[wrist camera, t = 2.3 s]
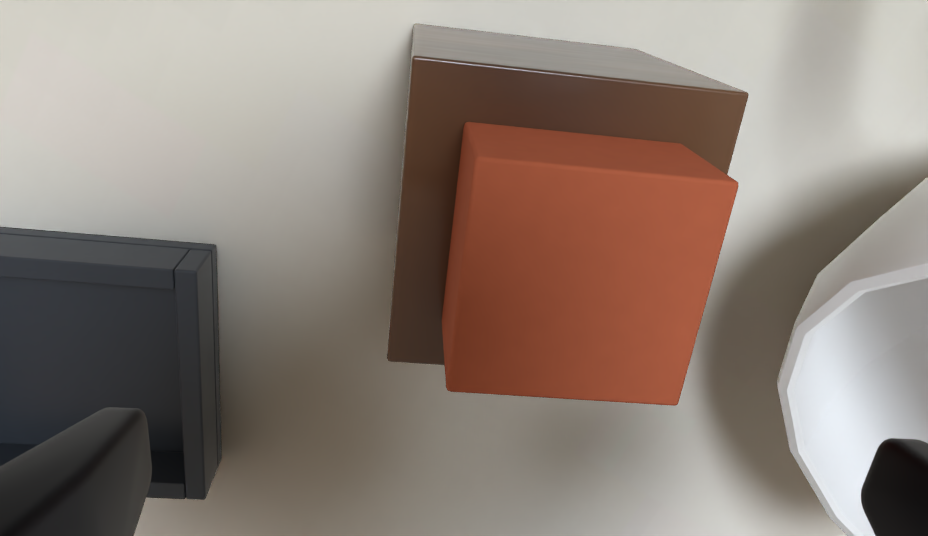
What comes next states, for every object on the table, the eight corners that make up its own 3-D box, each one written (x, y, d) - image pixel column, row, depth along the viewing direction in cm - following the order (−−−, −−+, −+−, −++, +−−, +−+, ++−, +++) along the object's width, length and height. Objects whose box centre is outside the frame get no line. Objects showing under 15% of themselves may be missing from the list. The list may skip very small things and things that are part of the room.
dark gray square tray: (216, 243, 20) (196, 271, 18) (222, 458, 23) (205, 500, 21) (-68, 220, 19) (-119, 247, 18) (-24, 445, 22) (-64, 488, 21)
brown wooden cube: (637, 48, 19) (750, 92, 12) (595, 254, 21) (672, 381, 15) (413, 23, 18) (411, 55, 12) (396, 238, 21) (386, 362, 14)
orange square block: (683, 143, 13) (742, 182, 10) (636, 336, 14) (678, 407, 12) (464, 120, 12) (475, 155, 10) (440, 322, 14) (445, 392, 12)
